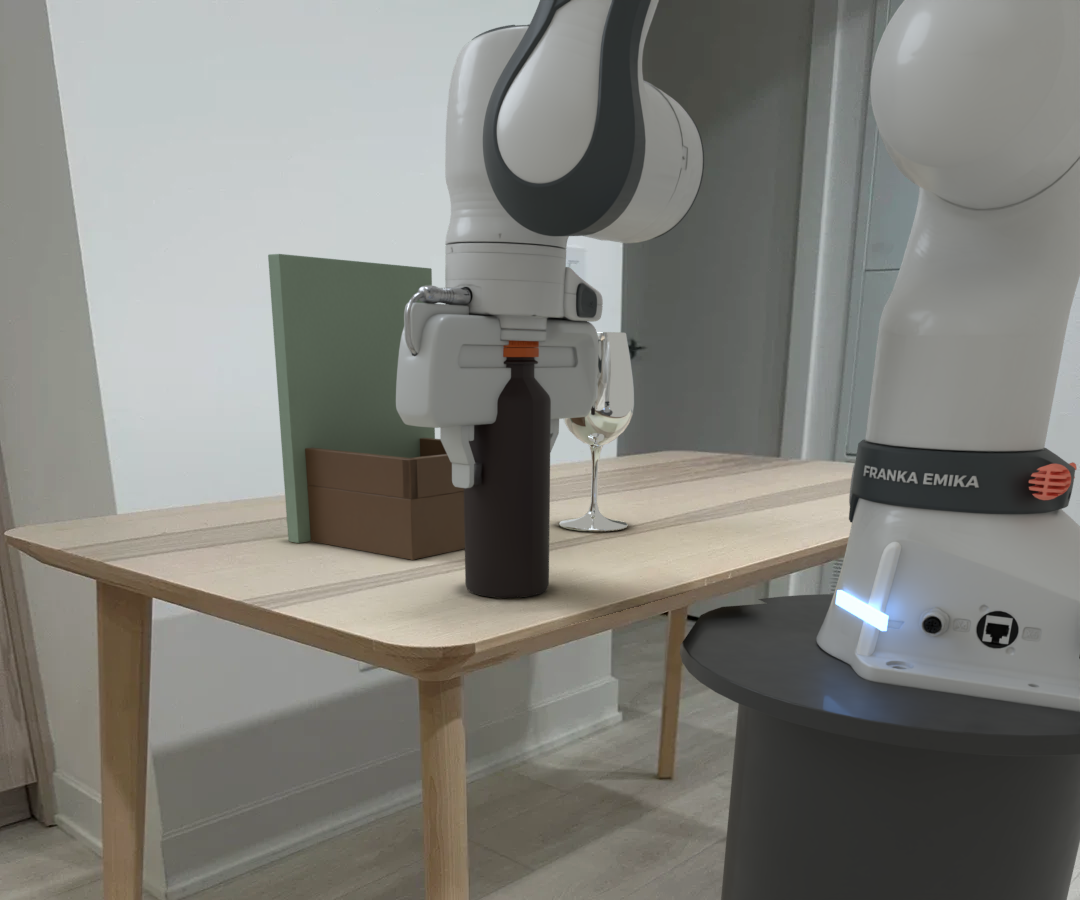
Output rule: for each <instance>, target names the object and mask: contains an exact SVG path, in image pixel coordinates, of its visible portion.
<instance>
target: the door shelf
mask: <svg viewBox="0 0 1080 900" xmlns="http://www.w3.org/2000/svg"><path fill="white" fill-rule="evenodd" d="M267 259H268V271H269V272H268V274H269V275H268V276H269V287H270V302H271V315H272V317H271V318H272V329H273V343H274V344H273V345H274V359H275V372H276V373H275V374H276V385H277V386H276V387H277V388H276V389H277V402H278V415H279V427H280V429H279V430H280V442H281V444H280V445H281V456H282V457H281V458H282V470H283V471H282V472H283V485H284V498H285V499H284V500H285V512H286V529H287V541H288V542H290V543H296V544H302V543H308V542H313V543H317V544H324V545H329V546H334V547H340V548H346V549H350V550H357V551H363V552H368V553H372V554H378V555H383V556H388V557H394V558H400V559H404V560H410V561H414V560H419V559H423V558H428V557H433V556H437V555H441V554H442V555H443V554H447V553H451V552H457V551H460V550H465V532H464V488H459V487H455V486H454V485H453V483H452V462H450V460H449V457H448V455H447V453H446V451H445V449H444V446H443V444H442V442H441V440H440V438H436V428H430V427H419V426H411V425H406V424H405V423H404V422H403V421H402V419H401V417H400V415H399V413H398V411H397V409H396V381H397V368H398V357H399V348H400V341H401V336H402V331H403V328H404V311H405V306H406V304H407V303H409V301H410V299H411V298H412V296H413V295H414V294H416V293H417V292H418V290H419V289H420V287H423V286H428V285H431V286H433V273H432V272H433V271H432V268H431V267H421V266H409V265H400V264H390V263H380V262H379V263H378V262H368V261H358V260H347V259H339V258H337V259H336V258H326V257H315V256H305V255H295V254H287V253H272V254H271V253H268V255H267ZM416 303H424V302H422V301H420V300H419V299H418V300H417V302H416Z"/></svg>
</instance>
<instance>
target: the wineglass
mask: <svg viewBox="0 0 1080 900" xmlns="http://www.w3.org/2000/svg"><path fill="white" fill-rule="evenodd" d="M597 335H598V342H599V356H598V376H597V389H596V397H595V402H594V404H593V406H592V408H591V410H590V412H589V414H588V415H587V416H586V417H577V418H564V419H562V420H563V423H564V425H565V426H566V428H567V430H568V431H569V432H570V433H571V435H572V436H574V437H575V438H576V439H577V440H579V441H580V442H582V443H583V444H586V445H587V446H588V447H589V450H590V456H591V487H590V488H591V489H590V505H589V508H588V510H587V511H586V513H585V514H584V515H582V516H580V517H573V518H566V519H563V520H560V521H559V522H558V526H559V527H561V528H562V529H566V530H571V531H578V532H587V533H590V532H591V533H595V532H596V533H606V532H616V531H622V530H624V529H627V528H628V526H629V524H628V523H627V522H626V521H623V520H620V519H615V518H608V517H605V516H604V515H603V513H601V511H600V507H599V504H598V503H599V502H598V494H599V491H598V490H599V467H600V458H601V453H602V449H603V448H604V446H605V445H608V444H610V443H612V442H613V441H615V440H616V439H617V438H619V437H620V436H621V435H622V434H623V433H624V432H625V431H626V429H627V428H628V426H629V425H630V424H631V421H632V418H633V416H634V410H635V384H634V376H633V375H634V374H633V368H632V361H631V359H632V358H631V354H630V348H629V341H628V335H627V332H621V331H619V332H618V331H617V332H616V331H615V332H614V331H597Z"/></svg>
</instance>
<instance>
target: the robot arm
mask: <svg viewBox="0 0 1080 900" xmlns="http://www.w3.org/2000/svg"><path fill="white" fill-rule="evenodd" d="M659 1H660V0H539V2H538V5H537V7H536V10H535V11H534V14H533V17H532V19H531V21H530V23H529V24H517V25H516V24H510V25H509V24H508V25H502V26H499V27H495V28H491V29H489V30H486V31H484V32H481V33H480V34H478V35H476V36H474V37H473V38H472V39H471V40H469V41H468V42H467V43H466V44H465V45H464V46H463V47H462V48H461V49H460V51H459V53H458V55H457V56H456V59H455V63H454V65H453V69H452V73H451V77H450V82H449V89H448V96H447V105H446V107H447V108H446V118H445V119H446V122H445V146H444V147H445V148H444V149H445V151H444V152H445V153H444V157H445V158H444V159H445V160H444V161H445V162H444V178H445V183H446V187H447V191H448V195H449V203H450V216H449V217H450V218H449V223H448V226H447V227H448V228H447V230H446V234H445V243H444V244H445V247H444V249H445V250H444V253H445V257H444V262H445V263H444V265H445V266H444V268H445V270H444V273H445V274H444V275H445V276H444V277H445V278H444V279H445V280H444V282H445V287H439V286H436V285H432V286H431V285H428V286H423V287H420V289H419V290H418V292H417V293H416V294H414V295H413V296H412V298H411V299H410V301H409V303H407V304H406V306H405V311H404V328H403V331H402V336H401V341H400V348H399V357H398V368H397V381H396V409H397V411H398V413H399V415H400V417H401V419H402V421H403V422H404V423H405V424H406V425H411V426H419V427H430V428H435V429H438V428H439V429H440V431H439V432H440V433H439V435H440V437H439V439H440V440H441V442H442V444H443V446H444V449H445V451H446V453H447V455H448V457H449V460H450V462H452V483H453V485H454V486H455V487H459V488H472V487H478V486H480V485H481V483H482V477H481V474H482V463H475V460H474V457H473V454H472V451H471V448H470V444H469V441H473V440H474V425H482V424H492V423H494V422H495V421H496V417H497V402H498V398H499V395H500V394H501V392H502V390H503V389H504V387H505V385H506V384H507V383H508V381H509V380H510V379H511V368H506V364H504V361H506V357H503V348H507V347H503V346H504V345H508V344H509V341H507V340H513V341H539V347H535V348H539V357H534V359H535V360H536V361H538V364H534V377H535V379H536V380H537V381H538V383H539V384H540V385H541V386H542V387H543V389H544V390H545V391H546V392H547V393H548V395H549V396H550V399H551V427H550V454H551V453H552V450H553V447H554V445H555V443H556V441H557V438H558V436H559V434H560V420H563V419H564V418H577V417H586V416H587V415H588V414H589V412H590V410H591V408H592V406H593V404H594V402H595V397H596V389H597V376H598V356H599V342H598V335H597V332H598V331H597V329H596V327H595V326H594V324H593V323H591V322H598V321H600V320H601V318H602V315H603V304H604V303H603V296H602V294H601V292H600V291H599V290H598V289H596V288H595V287H594V286H592V285H591V284H589V283H588V282H587V281H585V279H583V278H582V277H581V276H579V275H578V274H577V272H575V271H574V270H573V269H572V268H571V267H569V266H567V263H566V262H567V245H568V240H569V237H585V238H589V239H593V240H594V239H595V240H599V241H604V242H605V241H606V242H614V243H621V244H636V243H637V244H638V243H642V242H645V241H649V240H654V239H657V238H659V237H660V238H661V236H664V235H666V234H667V233H669V232H670V231H671V230H673V229H675V228H676V226H678V225H679V224H680V223H681V222H682V221H683V220H684V218H685V217H686V216H687V214H688V213H689V212H690V211H691V209H692V207H693V205H694V203H695V201H696V199H697V197H698V194H699V191H700V189H701V186H702V181H703V177H704V169H705V150H704V145H703V140H702V136H701V133H700V130H699V128H698V126H697V124H696V122H695V121H694V118H692V116H691V115H690V113H688V111H687V110H686V109H685V108H684V107H683V106H682V105H681V104H680V103H679V102H678V101H676V100H675V99H674V98H673V97H671V96H670V95H669V94H667V93H666V92H664V91H663V90H662V89H660V88H658V87H657V86H655V85H654V84H652V83H651V82H648V81H646V80H645V79H644V74H643V58H644V57H643V56H644V49H645V43H646V39H647V36H648V33H649V30H650V28H651V25H652V22H653V18H654V16H655V14H656V10H657V7H658V4H659ZM869 87H870V89H869V90H870V103H871V108H872V113H873V117H874V120H875V124H876V127H877V130H878V133H879V136H880V138H881V141H882V143H883V146H884V148H885V150H886V152H887V154H888V156H889V158H890V160H891V161H892V163H893V164H894V166H895V167H896V169H898V171H899V172H900V173H901V174H902V175H903V176H904V177H905V178H906V179H908V180H909V181H910V182H911V183H912V184H915V186H918V196H917V197H918V198H917V204H916V209H915V214H914V217H913V222H912V225H911V229H910V232H909V235H908V239H907V242H906V246H905V250H904V253H903V257H902V261H901V265H900V266H899V270H898V273H897V276H896V279H895V282H894V285H893V287H892V289H891V292H890V295H889V297H888V299H887V300H886V302H885V304H884V306H883V308H882V311H881V314H880V317H879V323H878V332H877V338H876V339H877V340H876V349H875V355H874V356H875V357H874V364H873V371H872V379H871V387H870V394H869V395H870V396H869V403H868V412H867V418H866V419H867V421H866V427H865V435H864V436H865V438H864V439H862V440H861V441H859V442H858V444H857V449H856V454H855V460H854V464H853V468H852V473H851V479H850V487H849V498H848V499H849V500H848V502H849V503H848V505H849V512H848V520H849V522H850V523H851V525H850V531H849V535H848V538H847V539H848V540H847V545H846V549H845V553H844V557H843V560H842V564H841V569H840V572H839V576H838V579H837V583H836V586H835V589H834V593H833V594H834V595H833V598H832V601H831V604H830V607H829V610H828V612H827V615H826V617H825V619H824V622H823V624H822V627H821V629H820V631H819V633H818V635H817V638H816V641H817V644H818V645H819V646H820V647H821V648H822V649H823V650H824V651H825V652H827V653H828V654H830V655H832V656H834V657H836V658H838V659H840V660H842V661H844V662H846V663H847V664H849V665H850V666H851V667H852V668H853V670H854V671H855V672H856V673H857V675H859V676H860V677H861V678H863V679H866V680H869V681H873V682H878V683H885V684H892V685H899V686H906V687H912V688H919V689H926V690H933V691H940V692H947V693H953V694H960V695H967V696H974V697H981V698H987V699H994V700H1001V701H1008V702H1015V703H1022V704H1028V705H1035V706H1042V707H1049V708H1056V709H1063V710H1069V711H1076V712H1080V525H1079V523H1077V522H1076V520H1074V519H1073V518H1072V517H1071V516H1070V515H1069V514H1068V513H1067V512H1065V510H1064V509H1065V508H1067V507H1069V504H1070V501H1071V497H1072V493H1073V488H1074V482H1075V479H1076V477H1075V476H1076V475H1075V474H1076V471H1077V469H1078V468H1077V464H1076V463H1075V462H1073V461H1072V462H1070V463H1069V462H1067V461H1066V460H1064V459H1063V458H1062V457H1060V456H1059V455H1058V454H1056V453H1054V452H1053V451H1051V450H1050V449H1049V448H1047V447H1045V446H1046V441H1047V434H1048V430H1049V425H1050V420H1051V414H1052V409H1053V402H1054V398H1055V391H1056V387H1057V381H1058V377H1059V370H1060V364H1061V360H1062V355H1063V354H1062V353H1063V350H1064V344H1065V339H1066V338H1065V336H1066V332H1067V328H1068V322H1069V318H1070V313H1071V309H1072V305H1073V302H1074V298H1075V295H1076V291H1077V287H1078V283H1079V280H1080V0H903V1H902V3H900V5H899V6H898V8H897V9H896V11H895V12H894V13H893V15H892V17H891V18H890V20H889V22H888V24H887V25H886V27H885V29H884V31H883V33H882V35H881V38H880V40H879V43H878V46H877V49H876V51H875V54H874V58H873V63H872V69H871V74H870V86H869ZM418 299H419V300H420V301H422V302H424V303H416V302H417V300H418ZM516 329H525V330H516Z"/></svg>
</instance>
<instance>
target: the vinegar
mask: <svg viewBox="0 0 1080 900" xmlns="http://www.w3.org/2000/svg"><path fill="white" fill-rule="evenodd" d="M516 330H525V329H516ZM507 341H509V344H508V345H504V346H503V347H507V348H503V357H506V361H504V364H506V368H511V379H510V380H509V381H508V383H507V384H506V385H505V387H504V389H503V390H502V392H501V394H500V395H499V398H498V402H497V417H496V421H495V422H494V423H492V424H482V425H474V440H473V441H469V444H470V448H471V451H472V454H473V457H474V460H475V463H482V474H481V477H482V483H481V485H480V486H478V487H472V488H464V532H465V549H464V575H465V576H464V577H465V578H464V579H465V580H464V581H465V583H464V584H465V587H466V589H467V591H469V592H470V593H471V594H474V595H478V596H482V597H489V598H496V599H499V598H500V599H514V598H515V599H516V598H517V599H518V598H526V597H527V598H528V597H532V596H538V595H540V594H543V593H545V592H546V591H547V590H548V588H549V585H550V528H551V527H550V526H551V525H550V524H551V523H550V522H551V521H550V520H551V519H550V518H551V514H550V513H551V512H550V511H551V499H550V498H551V453H550V427H551V399H550V396H549V395H548V393H547V392H546V391H545V390H544V389H543V387H542V386H541V385H540V384H539V383H538V381H537V380H536V379H535V377H534V364H538V361H536V360H535V359H534V357H539V348H535V347H539V341H513V340H507Z"/></svg>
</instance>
